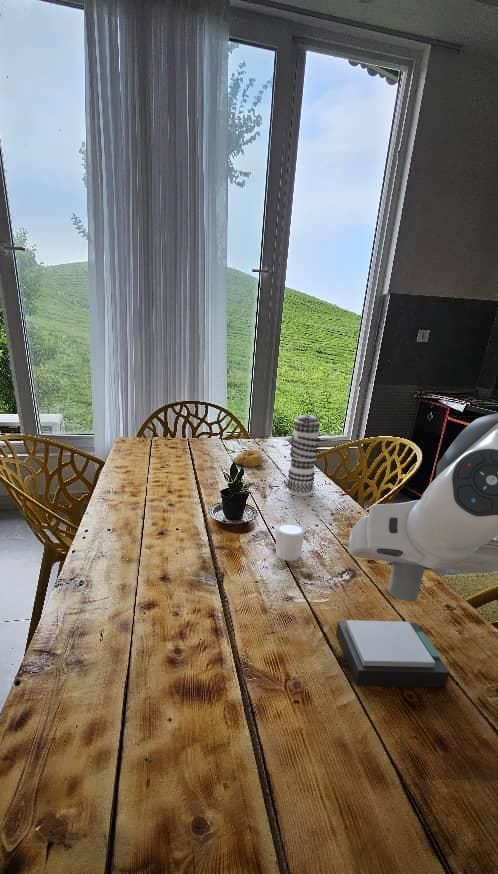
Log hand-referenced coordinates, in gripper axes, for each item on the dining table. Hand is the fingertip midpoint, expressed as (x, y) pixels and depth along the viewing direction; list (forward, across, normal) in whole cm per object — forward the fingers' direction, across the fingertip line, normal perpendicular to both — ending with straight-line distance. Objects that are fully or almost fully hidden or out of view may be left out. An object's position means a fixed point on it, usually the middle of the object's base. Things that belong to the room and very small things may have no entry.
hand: (408, 562), depth 71 cm
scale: (+9, +1, +14) cm, 17 cm away
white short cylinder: (+32, +19, -8) cm, 38 cm away
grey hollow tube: (+4, 0, +4) cm, 6 cm away
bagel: (+82, +38, -58) cm, 107 cm away
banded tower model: (+64, +17, -40) cm, 78 cm away
